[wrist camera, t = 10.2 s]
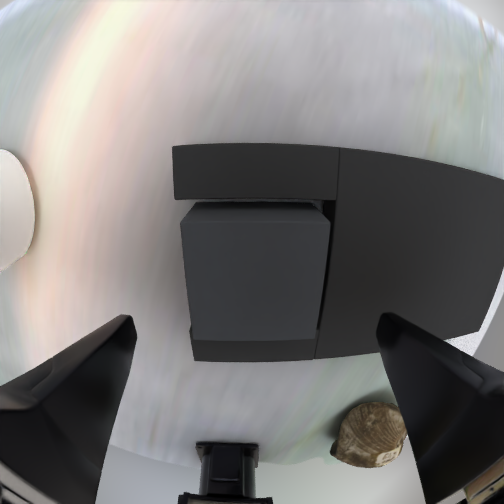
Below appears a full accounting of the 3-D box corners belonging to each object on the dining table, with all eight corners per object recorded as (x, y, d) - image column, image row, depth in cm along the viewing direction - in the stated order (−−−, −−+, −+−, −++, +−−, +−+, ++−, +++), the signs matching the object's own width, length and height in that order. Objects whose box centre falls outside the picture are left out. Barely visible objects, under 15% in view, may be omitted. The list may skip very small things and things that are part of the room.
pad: (303, 301, 16) (315, 339, 13) (202, 302, 16) (193, 340, 13) (312, 202, 14) (331, 222, 11) (195, 202, 14) (179, 221, 11)
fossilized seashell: (378, 456, 23) (427, 394, 20) (370, 496, 17) (432, 435, 14) (323, 436, 26) (365, 371, 23) (306, 474, 20) (357, 409, 17)
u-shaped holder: (466, 318, 18) (478, 331, 16) (198, 340, 17) (194, 361, 16) (503, 179, 13) (521, 186, 11) (182, 145, 13) (171, 146, 11)
